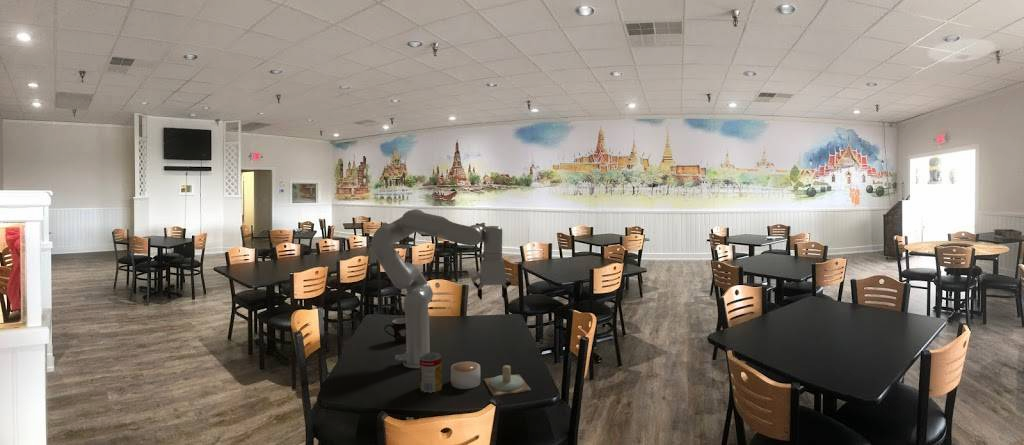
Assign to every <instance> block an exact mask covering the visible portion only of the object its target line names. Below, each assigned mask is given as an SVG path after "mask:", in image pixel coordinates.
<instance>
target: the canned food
mask: <svg viewBox="0 0 1024 445" xmlns="http://www.w3.org/2000/svg"><path fill="white" fill-rule="evenodd" d="M442 364H443V362H442V354H441V353H439V352H430V353H425V354H422V355H421V356H420V368H419V386H420V387H419V390H420V389H421V390H422V391H424V392H423V393H425V392H429V393H428V394H433V393H432V392H434V393H437V391H438V392H439V391H441V390H442V389H443V369H442V368H443V367H442V366H443V365H442ZM421 390H420V391H421ZM422 391H421V392H422Z"/></svg>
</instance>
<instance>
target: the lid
mask: <svg viewBox="0 0 1024 445" xmlns="http://www.w3.org/2000/svg"><path fill="white" fill-rule="evenodd" d="M511 368H512V367H511V365H507V364H505V365H503V366H502V374H500V375H496V376H495V377H491V378H492V379H491V381H490V385H491V387H492V388H494V389H496V390H500V391H512V390H517V389H519V388H521V387H522V386H523V380H524V379H523V378H522V379H523V380H522V379H521V378H520V377H518V376H514V375H515V374H511V372H512V371H511V370H512V369H511Z"/></svg>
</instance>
